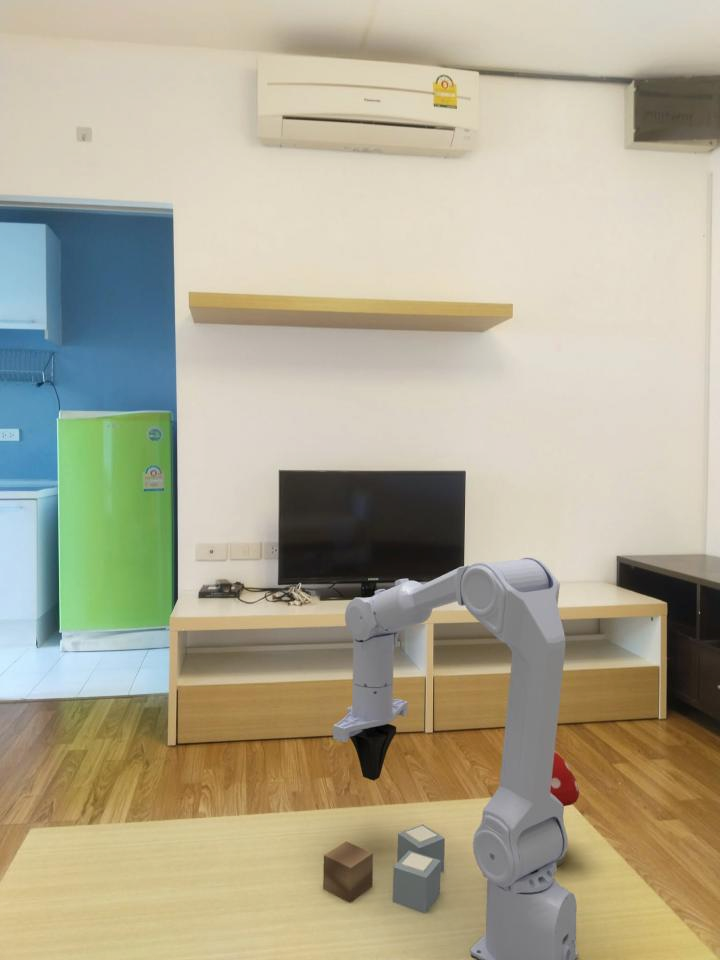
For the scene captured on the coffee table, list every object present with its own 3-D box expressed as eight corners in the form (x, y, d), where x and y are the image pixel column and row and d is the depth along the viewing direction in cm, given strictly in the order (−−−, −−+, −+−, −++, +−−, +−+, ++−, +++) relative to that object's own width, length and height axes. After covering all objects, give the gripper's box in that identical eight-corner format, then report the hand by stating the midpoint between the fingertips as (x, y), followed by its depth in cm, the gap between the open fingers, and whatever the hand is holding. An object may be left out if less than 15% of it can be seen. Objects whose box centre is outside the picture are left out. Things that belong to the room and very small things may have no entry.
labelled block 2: (440, 895, 92) (440, 858, 92) (425, 914, 88) (426, 875, 88) (408, 884, 94) (408, 848, 94) (392, 902, 90) (393, 864, 90)
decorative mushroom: (592, 863, 100) (594, 757, 99) (546, 882, 95) (548, 771, 95) (540, 829, 108) (542, 731, 107) (496, 845, 104) (497, 743, 103)
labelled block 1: (444, 871, 98) (444, 835, 98) (418, 881, 95) (419, 845, 95) (422, 855, 101) (422, 822, 101) (397, 866, 99) (397, 831, 99)
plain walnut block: (372, 887, 94) (372, 853, 93) (350, 903, 90) (350, 867, 90) (345, 874, 96) (346, 841, 96) (323, 889, 93) (323, 855, 93)
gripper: (381, 665, 110) (379, 754, 110) (317, 687, 99) (315, 785, 99) (420, 674, 106) (418, 766, 106) (357, 698, 94) (355, 801, 95)
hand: (371, 777), depth 102 cm, fingers closed
